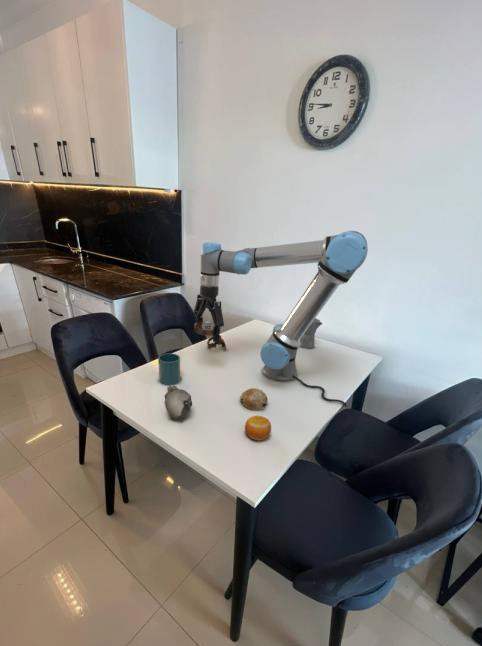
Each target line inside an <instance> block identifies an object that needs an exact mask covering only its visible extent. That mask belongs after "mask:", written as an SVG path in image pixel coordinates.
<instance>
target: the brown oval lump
mask: <svg viewBox="0 0 482 646" xmlns="http://www.w3.org/2000/svg"><path fill="white" fill-rule="evenodd" d="M239 400H240V401H241V402H240V403H241V404H242V406H243V407H245V408H246V410H247V409H248V410H252V411H260V410H261V411H262V410H264V409H265V407H266V406H267V404H268V396H267V394H266V392H264V391H263V390H262V389H259V388H248V389H246V390H244V391H243V392H242V393H241V395H240V396H239Z"/></svg>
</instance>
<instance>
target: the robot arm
mask: <svg viewBox="0 0 482 646" xmlns="http://www.w3.org/2000/svg"><path fill="white" fill-rule="evenodd" d="M200 248H201V250H200V255H199V256H200V275H199V276H200V279H199V283H200V285H199V294H197V295H196V303H195V306H194V309H193V312H192V313H193V315H194V316H195V318H196V321H195V323H197V322H201V321H204V316H203V315H204V314H205V311H206V310H208V312H210V315H211V319H212V322H214V325H215V326H214V327H213V335H212V336H213V339H212V343H214V342H216V341H219V335H220V334H221V333H220V327H221V328H222V327H225V322H224V316H223V310H222V301H217V297H218V296H219V292H220V291H219V290H220V289H219V285H220V272H224V273H230V274H236V275H245V276H246V275H248V274H249V272H250V271H251V269H258V268H259V269H260V268H269V267H271V268H272V267H282V266H283V267H285V266H294V265H307V264H317V273H316V274H315V276H313V279H312V280H311V281H310V282H309V284H308V286H307V287H306V289H305V291H304V292H303V294H301V296H300V298H299V300H298V301H297V303H296V304H295V305H294V306H293V308H292V310H291V311H290V313H289V314H288V316H287V318H286V319H285V321H284V322H283V323H277V324H275V325H274V326H273V329H272V333H271V334H270V336H269V338H268V339H267V340H266V342H265V344H263V345H262V347H261V349H260V352H259V353H260V354H259V356H260V360H261V362H262V363H263V364H264V366H263V370H262V372H263V375H264V376H265V377H267V378H269V379H271V380H273V381H278V382H290V381H292V380H293V381H294V379H295V380H296V381H298V382H299V383H301V385H303V386H304V387H307V388H311V389H312V388H313V389H319V390H321V391H322V392H321V398H322V399H323V400H325V401H326V402H336V403H340V404H342V405H343V407H345V408H347V407H348V405H347V403H346V402H345V401H343V400H341V399H337V398H336V399H333V398H327V397H326V396H325V393H326V390H325V388H324V387H322V386H320V385H311V384H307V383H305V382H304V381H303V380H301V379H300V378H299V377H297V374H298V371H297V363H296V357H297V353H298V349H299V348H300V347H301V346H300V345H301V343H300V338H301V337H302V336H303V334H304V333H305V332H306V330H307V329H308V327H309V326H310V325H311V323H312V322H313V321H314V319H315V318H316V319H317V317H318V315H320V313H321V311H322V310H323V308H324V307H325V306H326V304H327V303H328V302H329V300H330V299H331V297H332V296H334V295H333V294H334V293H335V292H336V290H337V289H338V288H339V287H340V285H344V284H347V283H348V282H349V281H350V279H351V278H352V277H353V275H354V274H355V273H356V271H357V270H358V269H359V268H360V267H362V265H363V264H364V262H365V261H366V258H367V256H368V252H369V251H368V248H369V247H368V242H367V239H366V237H365V236H364V234H363V233H362V232H359V231H356V230H347V231H344V232H341V233H339V234H335V235H327V236H325V237H324V239H320V240H319V239H318V240H311V241H303V242H295V243H294V242H293V243H286V244H285V243H284V244H277V245H268V246H260V247H247V248H243V249H240V250H235V251H234V250H233V251H232V250H231V251H230V250H225V249H224V250H223V249H222V245H221V244H220V243H218V242H203V243H202V244H201V247H200Z"/></svg>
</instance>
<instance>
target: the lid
mask: <svg viewBox="0 0 482 646" xmlns="http://www.w3.org/2000/svg"><path fill="white" fill-rule="evenodd" d="M196 322H197V321H196ZM196 322H195V323H194V324H193V331H194V333H195V334H198V335H201V336H205V337H207V336H211V337H212V336H213V327H214V326H215V325H214V322H213V321H210V320H203V321H201V322H197V323H196ZM221 332H222V327H220V334H221Z"/></svg>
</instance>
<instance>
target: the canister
mask: <svg viewBox="0 0 482 646" xmlns="http://www.w3.org/2000/svg"><path fill="white" fill-rule="evenodd" d="M157 363H158V380H159V382H160V383H161V384H162V385H165V386H176V385H177V384H179V383H180V382H181V357H180V356H179V355H178V354H176V353H172V352H171V353H169V352H168V353H167V352H166V353H162V354H160V355H159V356H158V358H157Z"/></svg>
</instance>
